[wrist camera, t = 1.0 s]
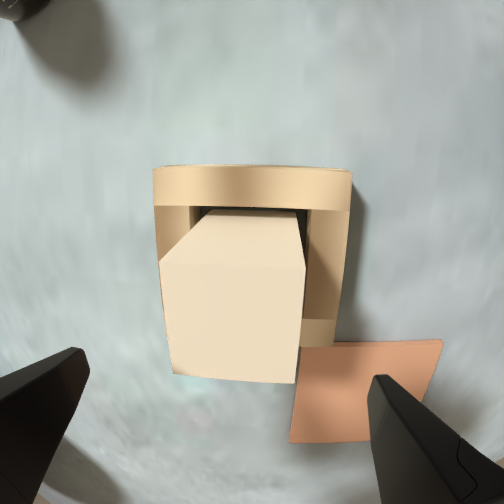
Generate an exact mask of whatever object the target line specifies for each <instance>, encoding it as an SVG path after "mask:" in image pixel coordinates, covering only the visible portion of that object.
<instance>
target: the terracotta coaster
mask: <svg viewBox="0 0 504 504" xmlns="http://www.w3.org/2000/svg"><path fill="white" fill-rule="evenodd" d="M443 345H444V343H443V341H442V340H441V339H437V340H418V341H391V342H333V347H301V352H300V361H299V369H298V377H297V385H296V393H295V400H294V407H293V415H292V421H291V428H290V435H289V443H338V442H358V441H370V430H369V418H368V407H367V395H368V392H369V389H370V385H371V382H372V379H373V377H374V375H376V374H388V375H389V376H390V377H392V378H393V379H394V380H395V381H396V382H397V383H399V384H400V385H401V386H402V387H403V388H404V389H406V390H407V391H408V392H409V393H410V394H411V395H413V396H414V397H415V398H416V399H417V400H419V401H420V402H421V401H422V399H423V397H424V394H425V392H426V390H427V387H428V385H429V382H430V380H431V377H432V375H433V372H434V370H435V367H436V364H437V362H438V359H439V356H440V354H441V351H442V348H443Z"/></svg>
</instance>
